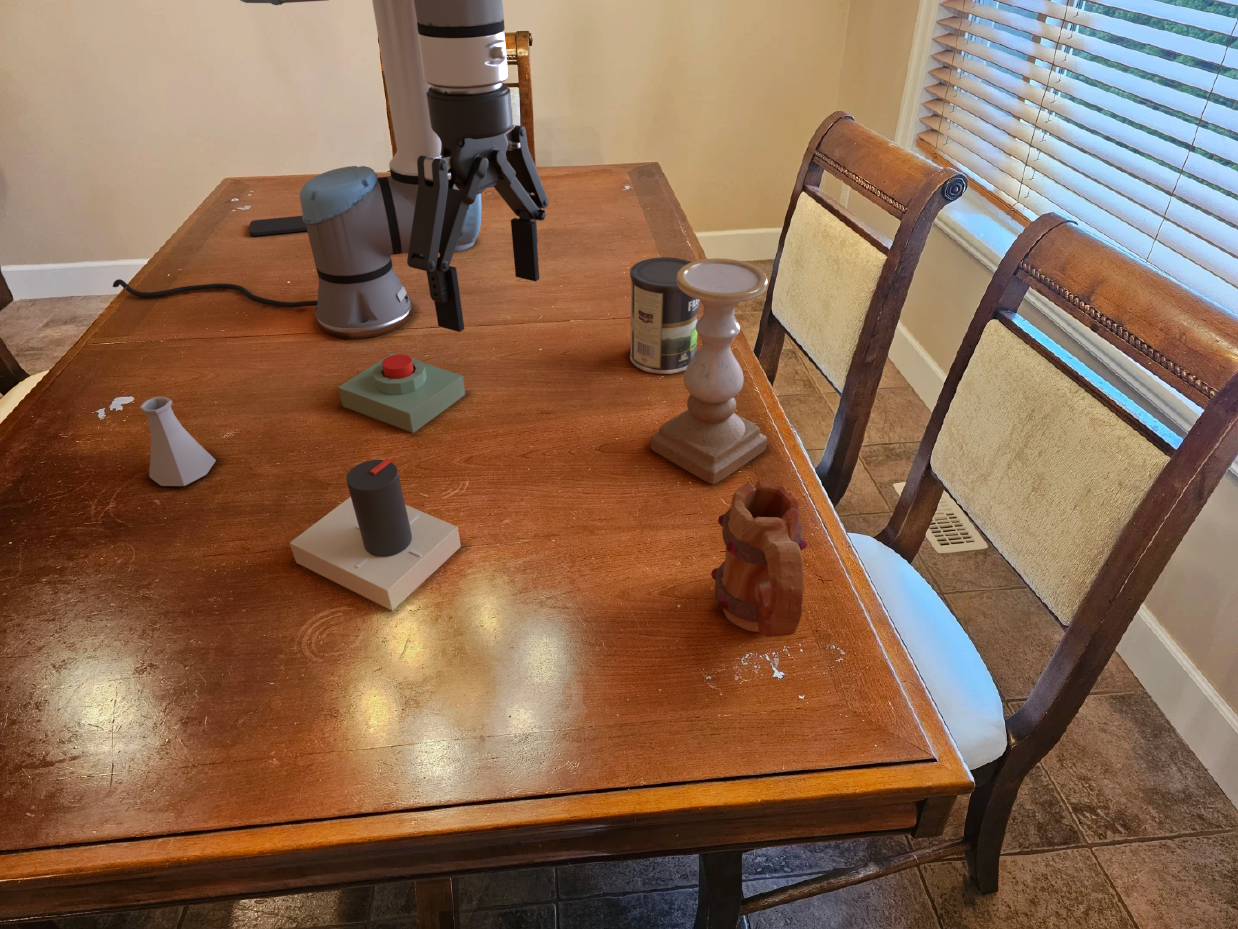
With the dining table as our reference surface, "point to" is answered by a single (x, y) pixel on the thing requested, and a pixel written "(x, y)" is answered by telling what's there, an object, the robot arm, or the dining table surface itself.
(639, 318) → the coffee can
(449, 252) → the robot arm
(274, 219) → the phone
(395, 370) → the power button
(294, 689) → the dining table surface
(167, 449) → the flask
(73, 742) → the dining table surface
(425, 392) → the block
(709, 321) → the candle holder
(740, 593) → the mug
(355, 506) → the knob
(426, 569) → the dial panel
